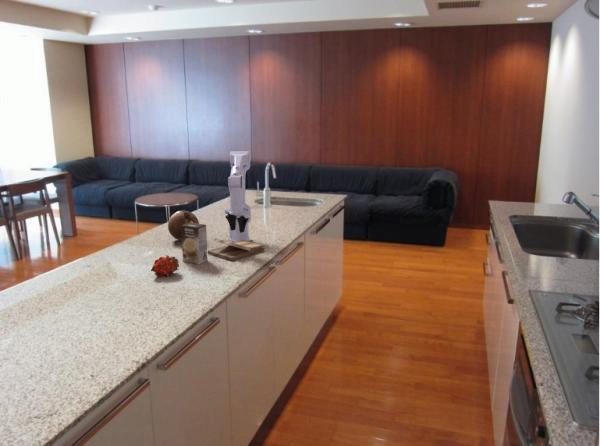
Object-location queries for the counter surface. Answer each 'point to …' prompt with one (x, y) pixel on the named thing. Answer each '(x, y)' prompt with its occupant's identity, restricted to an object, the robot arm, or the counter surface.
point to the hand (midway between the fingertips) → (237, 231)
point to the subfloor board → (236, 250)
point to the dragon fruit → (165, 266)
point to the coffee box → (194, 243)
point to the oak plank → (232, 244)
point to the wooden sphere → (180, 222)
